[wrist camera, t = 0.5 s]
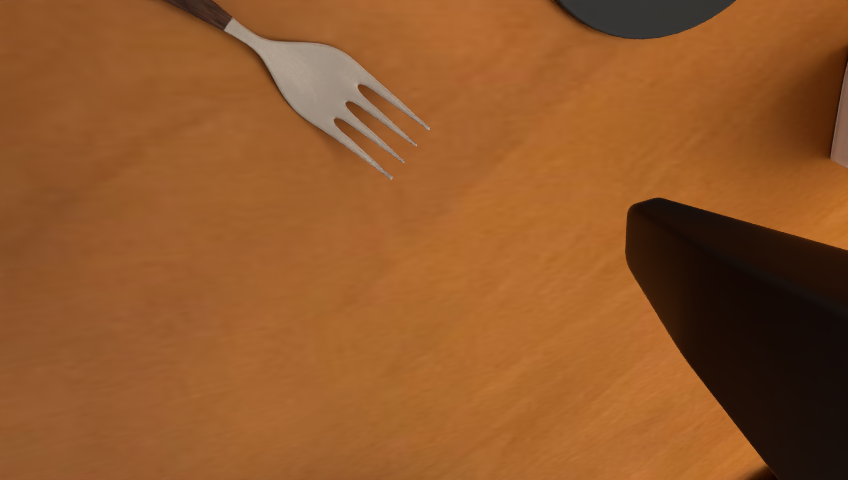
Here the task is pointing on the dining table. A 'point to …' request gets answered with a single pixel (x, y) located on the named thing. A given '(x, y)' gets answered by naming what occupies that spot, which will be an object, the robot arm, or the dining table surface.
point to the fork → (312, 79)
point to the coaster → (643, 15)
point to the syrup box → (841, 127)
